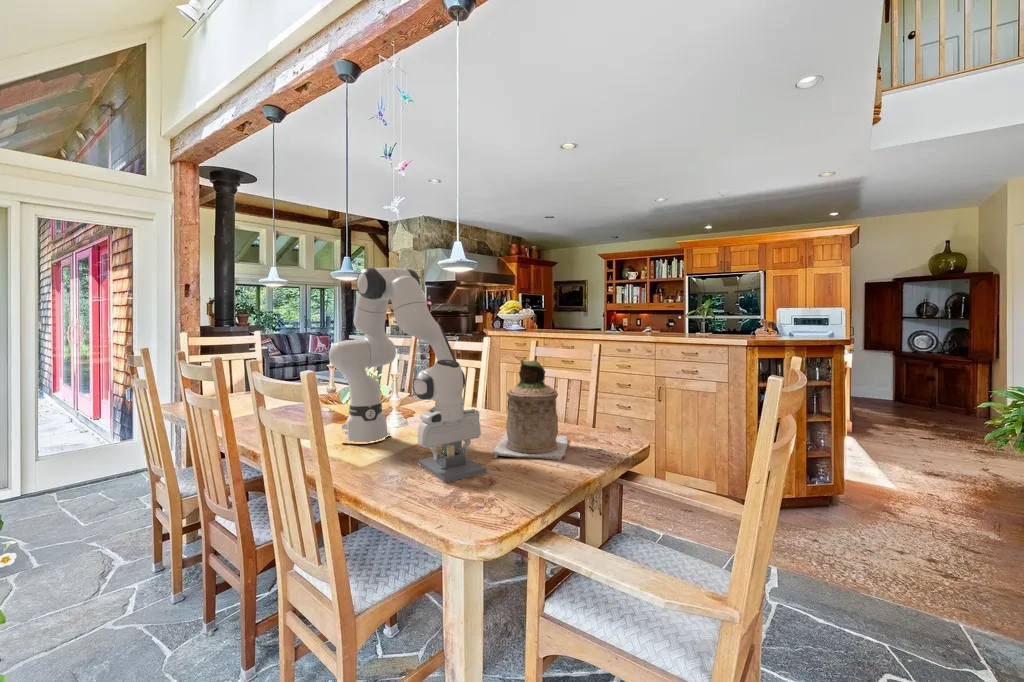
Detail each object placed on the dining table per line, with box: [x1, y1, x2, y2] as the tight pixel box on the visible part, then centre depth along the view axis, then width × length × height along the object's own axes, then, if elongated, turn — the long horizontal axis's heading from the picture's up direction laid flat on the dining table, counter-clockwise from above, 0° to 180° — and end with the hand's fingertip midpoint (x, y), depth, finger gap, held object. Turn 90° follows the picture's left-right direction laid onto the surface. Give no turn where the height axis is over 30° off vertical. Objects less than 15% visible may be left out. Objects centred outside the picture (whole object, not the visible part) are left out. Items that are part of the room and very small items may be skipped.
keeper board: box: [417, 444, 488, 483], centre depth 146 cm, size 20×14×8 cm
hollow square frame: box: [436, 449, 467, 469], centre depth 146 cm, size 7×7×3 cm
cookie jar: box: [492, 358, 569, 461], centre depth 164 cm, size 25×25×32 cm
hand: (450, 456), depth 146 cm, fingers open, 8 cm apart
